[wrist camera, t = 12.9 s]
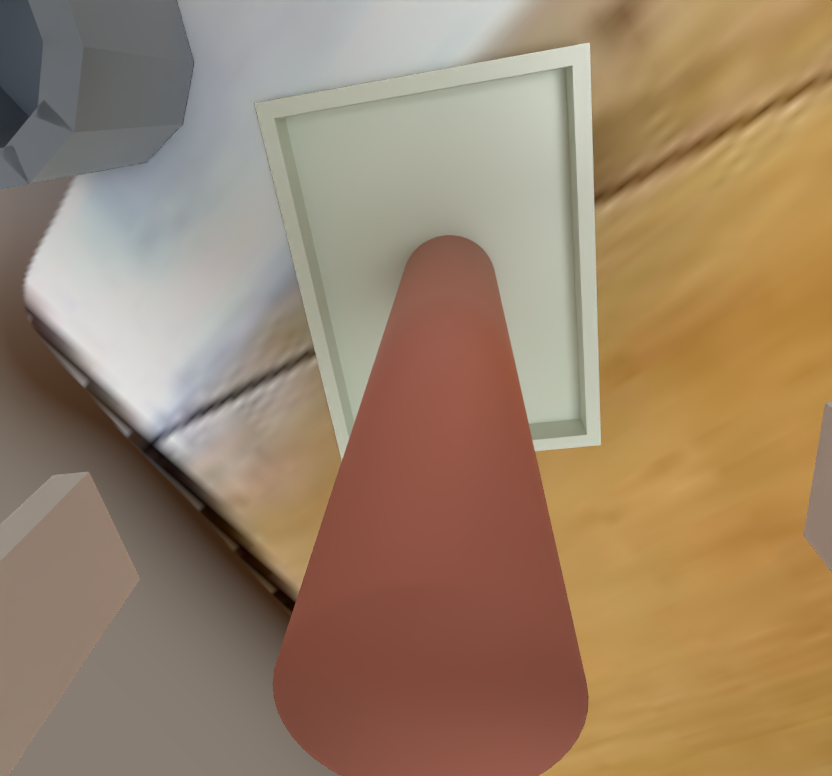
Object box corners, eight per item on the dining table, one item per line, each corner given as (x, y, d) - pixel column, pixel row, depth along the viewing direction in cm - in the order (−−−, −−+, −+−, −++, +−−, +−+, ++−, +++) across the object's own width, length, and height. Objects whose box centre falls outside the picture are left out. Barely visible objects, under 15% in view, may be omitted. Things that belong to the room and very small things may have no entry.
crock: (-73, -62, 22) (-310, -136, 15) (145, -114, 21) (-7, -218, 14) (28, 182, 26) (-127, 210, 19) (217, 150, 24) (125, 167, 18)
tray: (270, 103, 24) (253, 102, 22) (578, 47, 22) (589, 42, 20) (351, 446, 30) (343, 469, 28) (591, 422, 29) (600, 444, 27)
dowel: (395, 242, 25) (234, 597, 7) (490, 228, 24) (581, 572, 6) (410, 331, 27) (312, 802, 9) (499, 319, 26) (592, 795, 8)
